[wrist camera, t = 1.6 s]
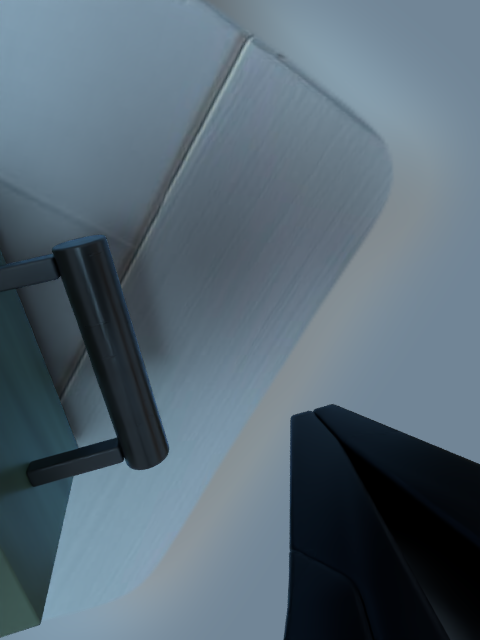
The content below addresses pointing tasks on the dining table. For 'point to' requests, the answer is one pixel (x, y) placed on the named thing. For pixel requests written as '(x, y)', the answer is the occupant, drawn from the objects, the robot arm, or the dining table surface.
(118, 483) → the dining table surface
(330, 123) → the dining table surface
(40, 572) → the drawer
